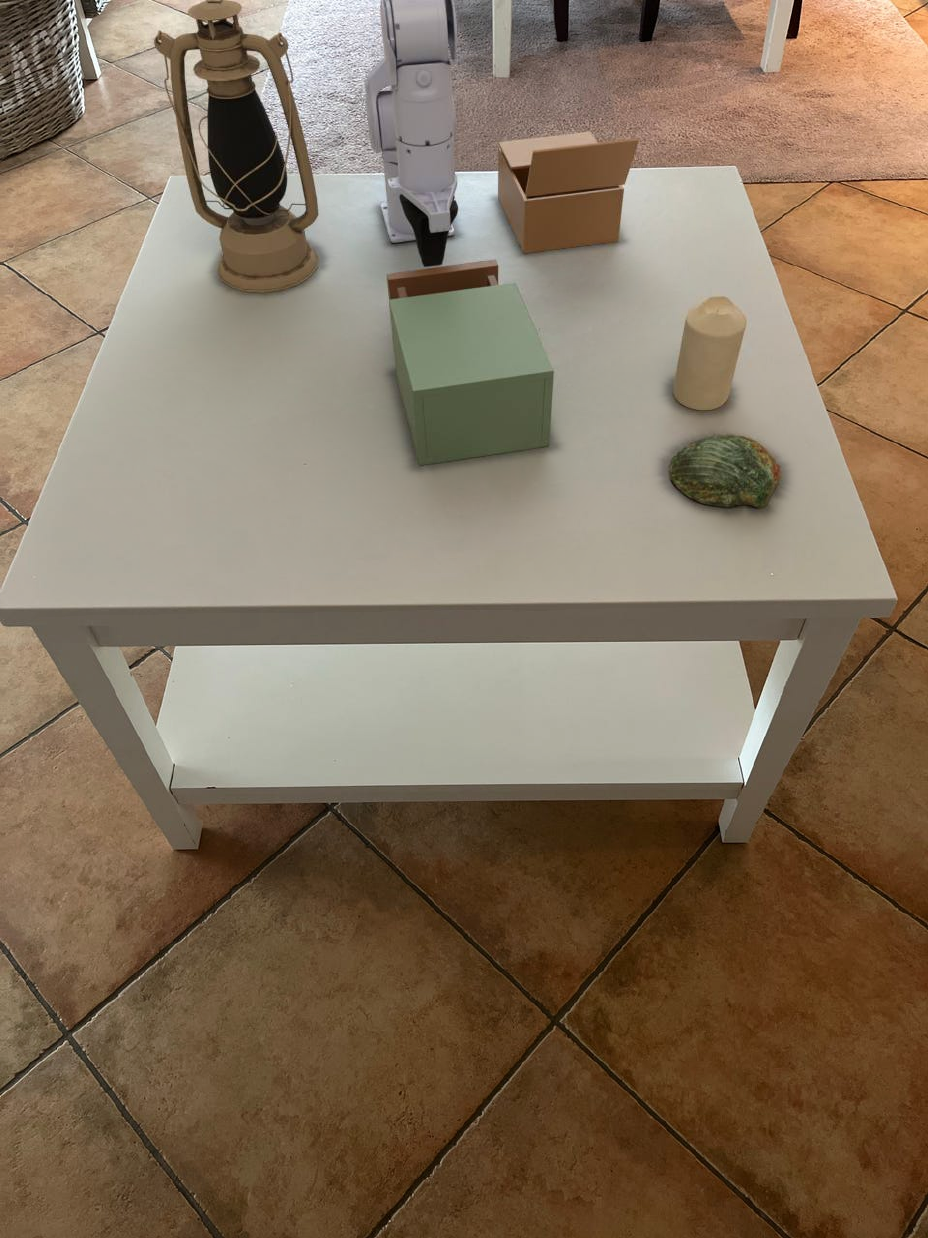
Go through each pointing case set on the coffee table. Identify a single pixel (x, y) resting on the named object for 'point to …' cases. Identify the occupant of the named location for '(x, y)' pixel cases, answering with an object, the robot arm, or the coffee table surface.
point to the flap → (580, 167)
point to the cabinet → (471, 373)
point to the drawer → (442, 279)
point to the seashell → (725, 471)
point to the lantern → (243, 151)
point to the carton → (554, 201)
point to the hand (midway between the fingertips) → (431, 262)
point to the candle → (709, 353)
